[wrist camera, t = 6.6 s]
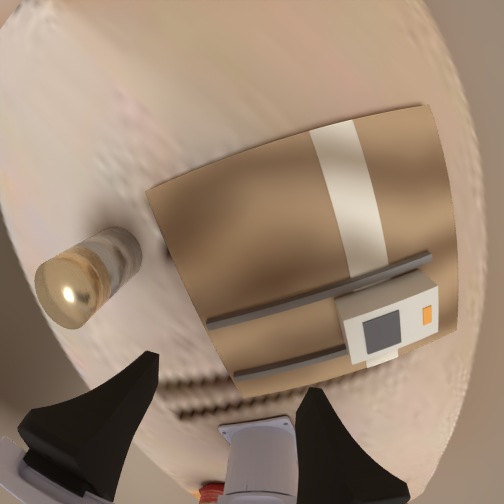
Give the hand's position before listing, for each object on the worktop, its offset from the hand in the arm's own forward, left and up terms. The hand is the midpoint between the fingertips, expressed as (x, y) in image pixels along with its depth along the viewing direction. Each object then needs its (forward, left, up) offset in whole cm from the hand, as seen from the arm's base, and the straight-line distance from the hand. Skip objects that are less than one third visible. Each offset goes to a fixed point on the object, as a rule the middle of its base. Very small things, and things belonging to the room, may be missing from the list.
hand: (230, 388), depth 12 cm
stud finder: (-4, -10, -8) cm, 13 cm away
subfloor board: (0, -7, -10) cm, 12 cm away
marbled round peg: (+6, +9, -10) cm, 15 cm away
